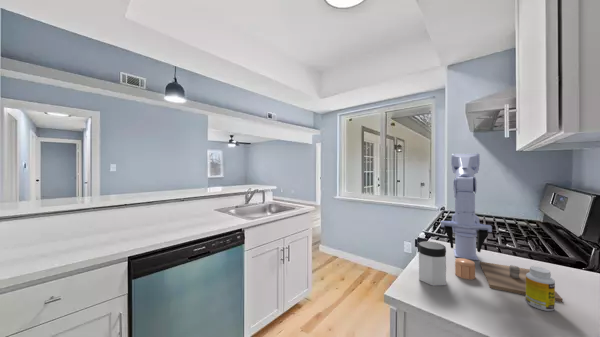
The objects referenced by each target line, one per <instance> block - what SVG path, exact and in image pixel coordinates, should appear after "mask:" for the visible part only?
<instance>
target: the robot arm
mask: <svg viewBox="0 0 600 337" xmlns="http://www.w3.org/2000/svg"><path fill="white" fill-rule="evenodd" d="M480 158H481V157H480V154H479V152H474V153H473V152H471V153H470V152H469V153H452V154H451V158H450V159H451V160H450V161H451V170H452V172H453V173H454V174H455V178H453V195H454V198H455V199H454V213H453V214H452V215H451V220H440V227H441V228H444V232H445V233H446V235H447V238H448V241H449V244H450V248H451V249H453V254H454V257H456V258H464V259H468V260H471V261H473V260H474V261H479V257H478V255H477V252H478V253H481V251H482V247H483V244H484V242H485V241H486V239H487V238H488V236H489V233H492V232H493V226H492V224H491V225H490V224H484V223H480V217H479V216H478V215H477V214H476V195H475V194H476V193H477V188H478V187H477V186H478V185H477V183H478V182H477V178H476V176H475V175H476V174H478V173H479V171H480V163H481V162H480V161H481V160H480ZM453 235H455V238H454V237H453ZM454 239H455V240H454ZM454 242H455V243H454ZM454 244H455V245H454ZM454 247H455V248H454Z"/></svg>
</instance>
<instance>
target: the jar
mask: <svg viewBox="0 0 600 337" xmlns="http://www.w3.org/2000/svg"><path fill="white" fill-rule="evenodd" d="M446 254H447V248H446V245H444V244H442V243H440V242H435V241H427V240H425V241H419V243H418V280H419V281H421V282H422V283H426V284H427V285H430V286H434V287H436V286H446V285H447V257H446Z"/></svg>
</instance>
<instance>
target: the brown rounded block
mask: <svg viewBox="0 0 600 337" xmlns="http://www.w3.org/2000/svg"><path fill="white" fill-rule="evenodd" d="M454 263H455V264H454V273H455V276H457V277H459V278H461V279H463V280H471V281H472V280H475V279H476V263H475V261H473V260H472V259H466V258H459V257H456V258H455V261H454Z"/></svg>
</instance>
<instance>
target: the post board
mask: <svg viewBox="0 0 600 337" xmlns="http://www.w3.org/2000/svg"><path fill="white" fill-rule="evenodd" d="M479 266H480V267H481V270H482V272H483V275H484V277H485V279H486V281H487V282H486V283H488V286H489V288H490V289H493V290H494V289H495V290H498V291H504V292H509V293H514V294H518V295H523V296H526V274H527V273H529V272H530V268H523V267H520V266H517V265H512V264H511V265H505V264H499V263H492V262H486V261H479ZM563 301H564V300H563V298H562V297H561V295H559V293H558V292H557V291H556V290H555V302H557V303H558V302H559V303H563Z"/></svg>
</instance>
